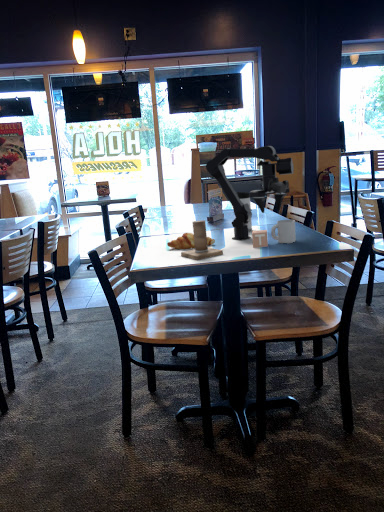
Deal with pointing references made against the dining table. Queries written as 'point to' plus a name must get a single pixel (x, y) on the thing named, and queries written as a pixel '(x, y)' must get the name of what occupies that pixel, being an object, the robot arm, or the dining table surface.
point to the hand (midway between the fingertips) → (271, 211)
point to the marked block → (260, 238)
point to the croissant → (187, 242)
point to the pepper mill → (200, 236)
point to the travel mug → (245, 199)
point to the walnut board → (201, 254)
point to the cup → (284, 231)
